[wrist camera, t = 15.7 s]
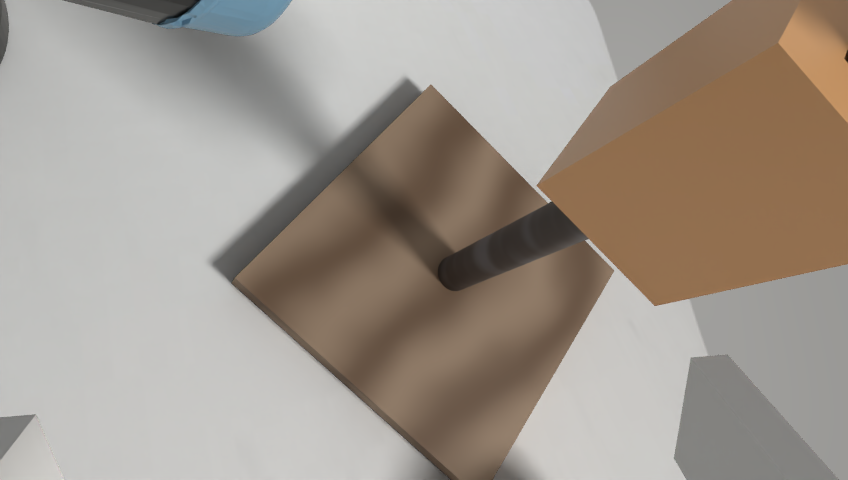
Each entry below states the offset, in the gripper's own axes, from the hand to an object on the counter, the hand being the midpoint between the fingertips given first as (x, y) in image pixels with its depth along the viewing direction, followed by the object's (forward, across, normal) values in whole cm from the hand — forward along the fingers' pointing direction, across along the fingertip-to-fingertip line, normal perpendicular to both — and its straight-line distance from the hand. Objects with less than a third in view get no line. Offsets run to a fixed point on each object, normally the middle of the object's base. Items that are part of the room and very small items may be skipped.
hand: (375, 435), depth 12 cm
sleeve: (+14, +11, -1) cm, 17 cm away
